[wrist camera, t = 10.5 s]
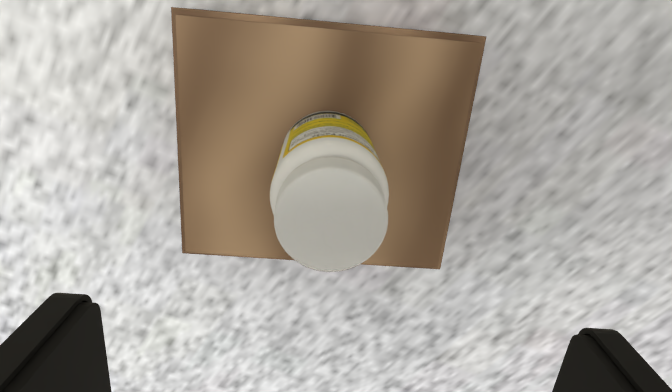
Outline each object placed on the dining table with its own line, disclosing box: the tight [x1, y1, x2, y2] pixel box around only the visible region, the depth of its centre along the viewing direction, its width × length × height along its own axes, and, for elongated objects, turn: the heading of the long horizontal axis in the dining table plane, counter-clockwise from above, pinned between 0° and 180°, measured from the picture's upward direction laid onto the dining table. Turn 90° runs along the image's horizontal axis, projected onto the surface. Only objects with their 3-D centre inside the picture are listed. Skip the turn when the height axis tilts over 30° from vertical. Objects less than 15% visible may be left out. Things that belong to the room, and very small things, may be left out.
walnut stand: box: [171, 7, 486, 269], centre depth 25 cm, size 15×13×4 cm
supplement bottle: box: [270, 111, 389, 272], centre depth 19 cm, size 5×5×8 cm
